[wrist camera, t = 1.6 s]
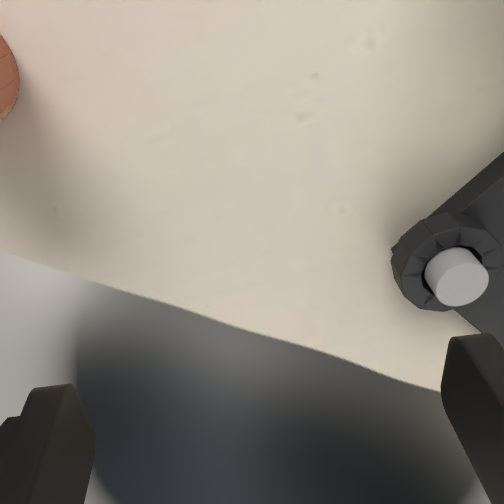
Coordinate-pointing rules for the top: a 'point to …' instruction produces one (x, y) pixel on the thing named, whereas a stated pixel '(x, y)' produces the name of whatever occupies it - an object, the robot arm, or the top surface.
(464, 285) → the button
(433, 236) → the scale
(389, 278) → the top surface
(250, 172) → the top surface
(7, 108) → the cup
